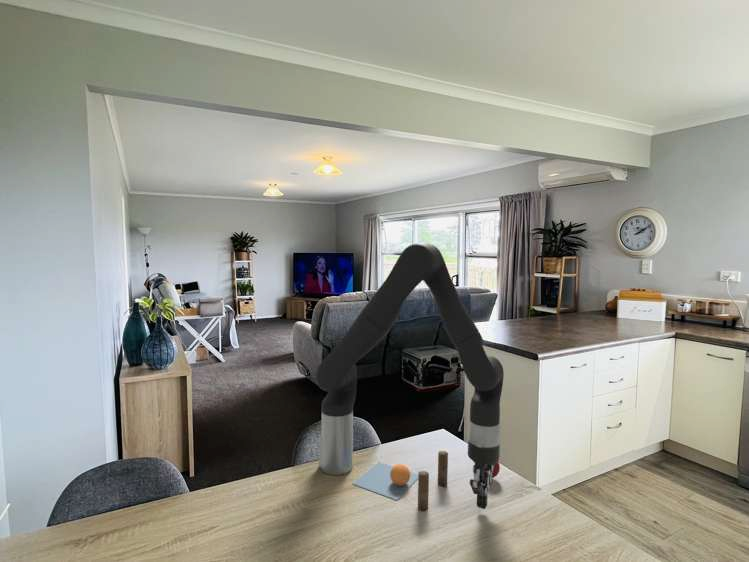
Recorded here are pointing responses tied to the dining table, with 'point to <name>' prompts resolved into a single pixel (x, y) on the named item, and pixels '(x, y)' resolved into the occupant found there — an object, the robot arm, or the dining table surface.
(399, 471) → the ball
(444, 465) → the post
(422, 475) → the post
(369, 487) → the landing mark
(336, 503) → the dining table surface
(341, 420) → the robot arm
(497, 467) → the onion
